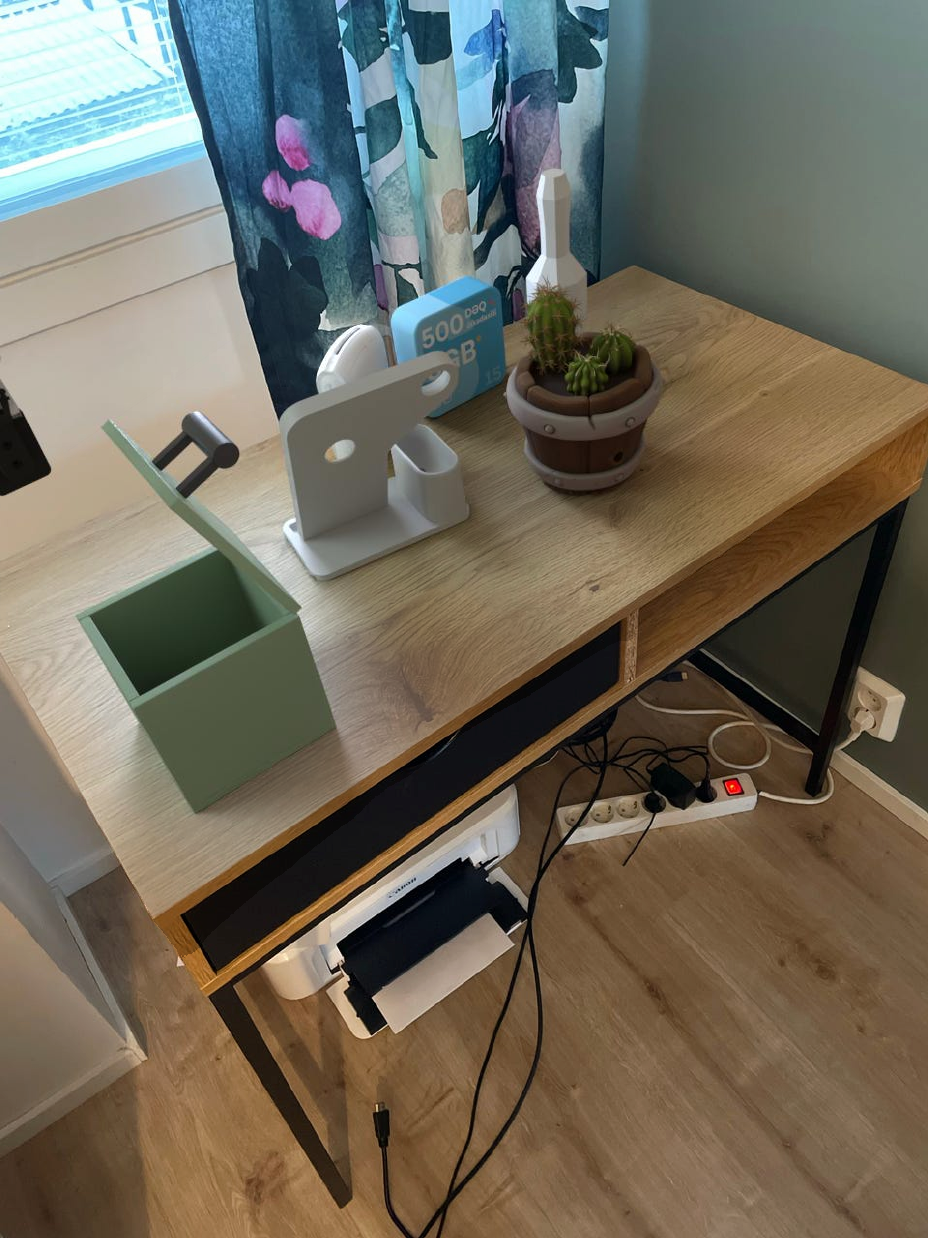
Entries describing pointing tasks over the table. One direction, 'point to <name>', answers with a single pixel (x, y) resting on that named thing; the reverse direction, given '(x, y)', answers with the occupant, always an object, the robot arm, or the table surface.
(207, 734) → the box
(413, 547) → the table surface
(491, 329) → the data package
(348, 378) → the photo printer
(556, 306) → the flowerpot
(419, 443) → the phone holder
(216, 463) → the green box lid
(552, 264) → the low poly bottle
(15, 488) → the robot arm
